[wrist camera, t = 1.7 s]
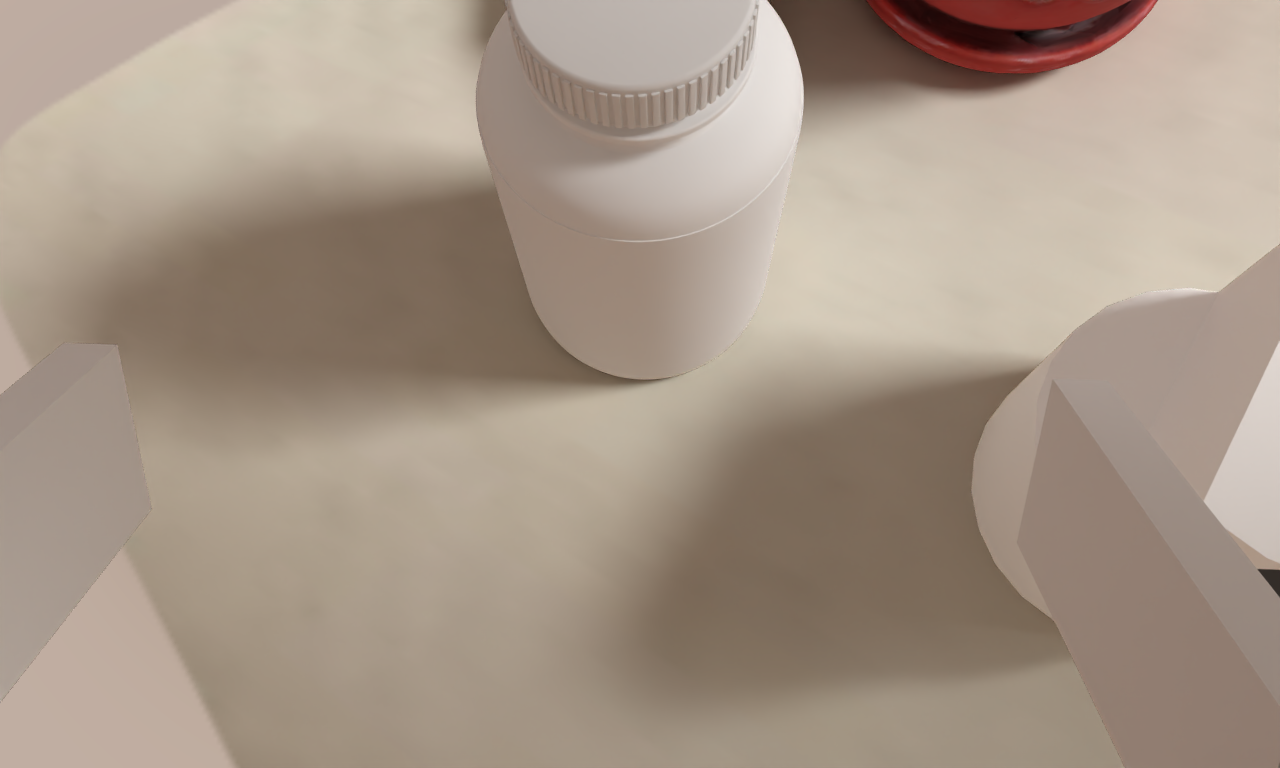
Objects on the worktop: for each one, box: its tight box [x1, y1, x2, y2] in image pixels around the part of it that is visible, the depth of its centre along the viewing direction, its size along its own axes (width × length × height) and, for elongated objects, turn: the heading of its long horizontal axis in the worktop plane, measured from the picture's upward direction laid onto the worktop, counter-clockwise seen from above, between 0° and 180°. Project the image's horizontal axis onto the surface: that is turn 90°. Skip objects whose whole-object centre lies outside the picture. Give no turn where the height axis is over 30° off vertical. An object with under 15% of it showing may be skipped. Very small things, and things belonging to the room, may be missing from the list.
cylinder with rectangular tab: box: [971, 244, 1280, 620], centre depth 28 cm, size 9×9×12 cm
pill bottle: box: [476, 0, 804, 380], centre depth 29 cm, size 8×8×15 cm
